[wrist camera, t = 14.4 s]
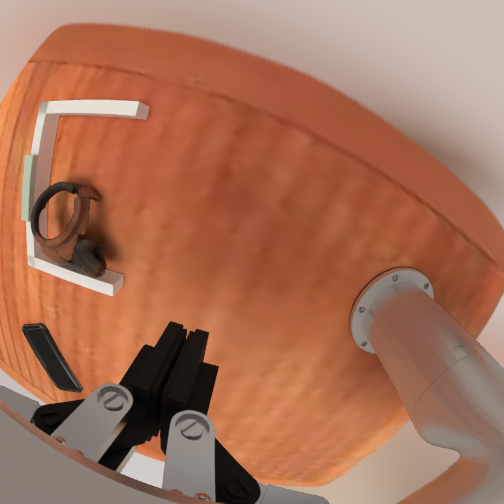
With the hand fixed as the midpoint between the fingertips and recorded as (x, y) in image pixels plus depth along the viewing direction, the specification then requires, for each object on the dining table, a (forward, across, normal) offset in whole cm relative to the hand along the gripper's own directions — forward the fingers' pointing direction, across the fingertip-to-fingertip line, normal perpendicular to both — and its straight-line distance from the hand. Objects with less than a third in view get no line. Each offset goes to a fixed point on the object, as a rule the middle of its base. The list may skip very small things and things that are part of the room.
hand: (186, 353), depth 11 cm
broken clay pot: (+18, +18, +3) cm, 26 cm away
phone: (+18, +28, +29) cm, 45 cm away
